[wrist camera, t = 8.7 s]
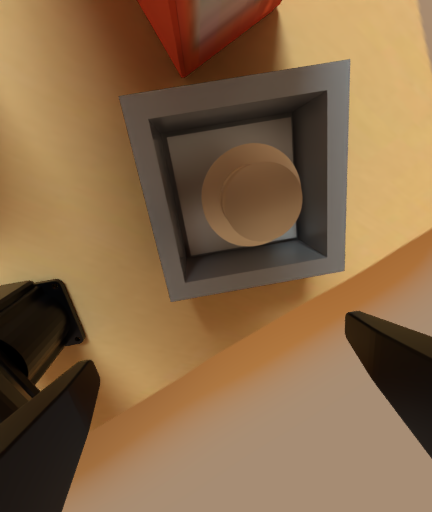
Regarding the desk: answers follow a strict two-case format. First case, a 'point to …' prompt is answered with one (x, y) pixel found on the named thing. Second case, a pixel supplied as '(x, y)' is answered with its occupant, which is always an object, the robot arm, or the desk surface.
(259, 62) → the desk surface
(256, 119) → the grey square tray
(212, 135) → the knob on square base
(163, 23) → the file binder
